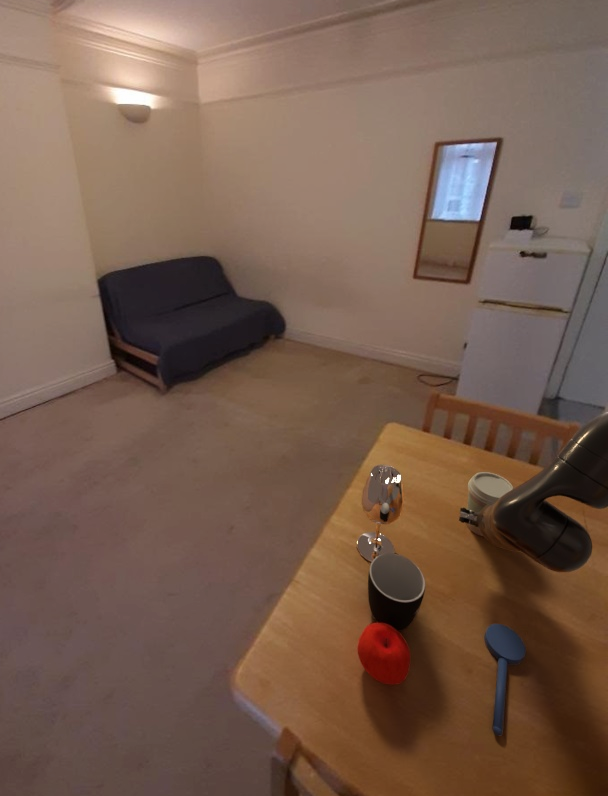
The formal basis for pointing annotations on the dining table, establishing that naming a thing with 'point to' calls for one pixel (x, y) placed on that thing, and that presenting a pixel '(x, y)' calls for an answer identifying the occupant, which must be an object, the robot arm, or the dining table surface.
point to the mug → (395, 590)
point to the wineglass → (380, 509)
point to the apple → (384, 653)
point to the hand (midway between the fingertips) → (487, 523)
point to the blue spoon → (503, 664)
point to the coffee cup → (485, 492)
